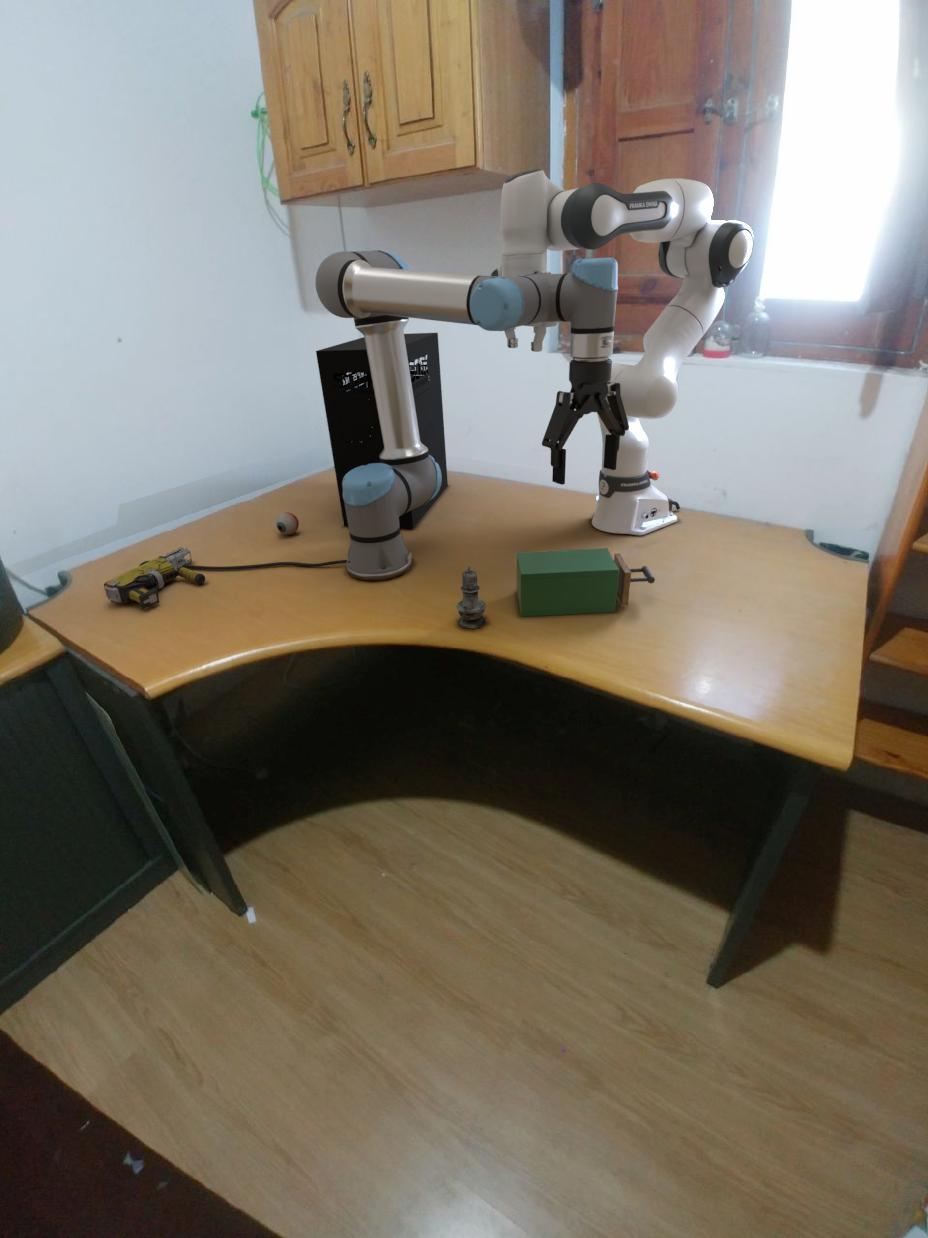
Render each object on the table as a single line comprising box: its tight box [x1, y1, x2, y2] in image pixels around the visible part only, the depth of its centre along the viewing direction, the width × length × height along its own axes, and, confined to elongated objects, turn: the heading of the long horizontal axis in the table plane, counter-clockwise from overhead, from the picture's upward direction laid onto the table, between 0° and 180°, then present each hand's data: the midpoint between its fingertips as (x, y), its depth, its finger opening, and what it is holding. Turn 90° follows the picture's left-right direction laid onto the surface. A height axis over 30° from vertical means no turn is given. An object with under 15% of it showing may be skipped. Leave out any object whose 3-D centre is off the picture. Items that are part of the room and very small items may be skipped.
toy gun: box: [103, 546, 206, 610], centre depth 139 cm, size 5×24×15 cm
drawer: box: [613, 552, 656, 607], centre depth 122 cm, size 23×9×7 cm, turn 90°
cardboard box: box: [315, 332, 449, 530], centre depth 170 cm, size 38×20×45 cm, turn 167°
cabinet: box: [516, 547, 619, 617], centre depth 122 cm, size 19×10×9 cm, turn 90°
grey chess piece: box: [455, 565, 487, 629], centre depth 116 cm, size 6×6×12 cm
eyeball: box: [275, 511, 300, 536], centre depth 163 cm, size 6×6×6 cm
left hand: (584, 475), depth 118 cm, fingers open, 13 cm apart
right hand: (524, 349), depth 125 cm, fingers open, 8 cm apart
